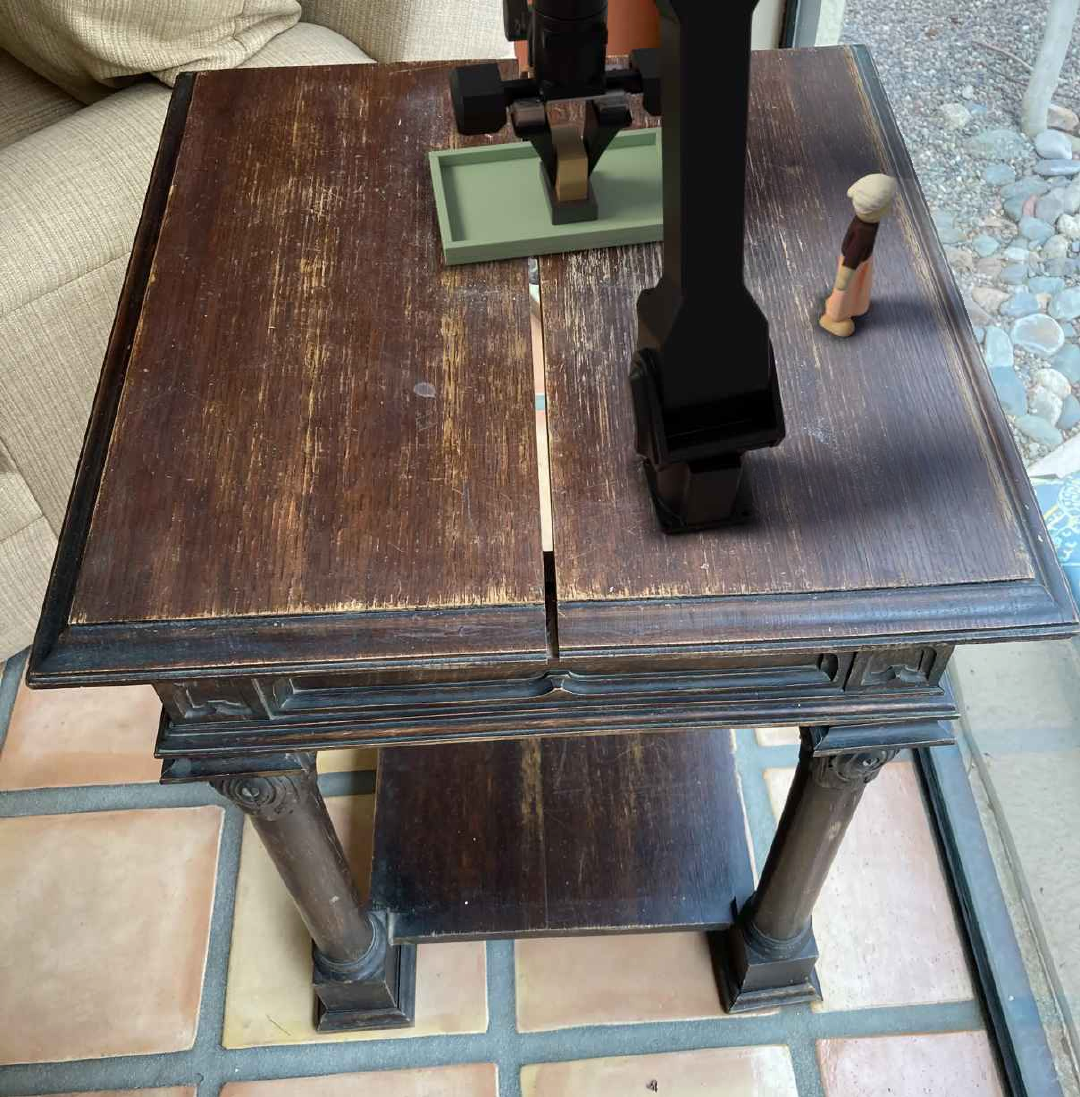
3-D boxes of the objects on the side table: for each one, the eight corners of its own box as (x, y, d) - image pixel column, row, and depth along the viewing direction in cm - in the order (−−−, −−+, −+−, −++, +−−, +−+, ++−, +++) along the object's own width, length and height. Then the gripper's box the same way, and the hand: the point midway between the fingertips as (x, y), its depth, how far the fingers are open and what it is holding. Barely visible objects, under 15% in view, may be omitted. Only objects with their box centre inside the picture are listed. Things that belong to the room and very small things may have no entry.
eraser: (597, 219, 90) (599, 164, 86) (551, 225, 90) (551, 169, 86) (583, 170, 94) (584, 115, 90) (539, 175, 94) (538, 120, 90)
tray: (696, 236, 90) (698, 219, 88) (446, 265, 88) (444, 248, 87) (660, 143, 98) (662, 126, 96) (430, 169, 96) (428, 151, 95)
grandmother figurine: (864, 348, 82) (908, 212, 72) (814, 342, 82) (851, 206, 72) (866, 283, 86) (908, 146, 76) (819, 278, 87) (854, 141, 76)
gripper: (668, -62, 83) (653, 116, 96) (434, -41, 82) (451, 137, 95) (702, 10, 77) (681, 191, 90) (449, 34, 76) (465, 215, 88)
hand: (568, 181), depth 91 cm, fingers closed on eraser, 2 cm apart
